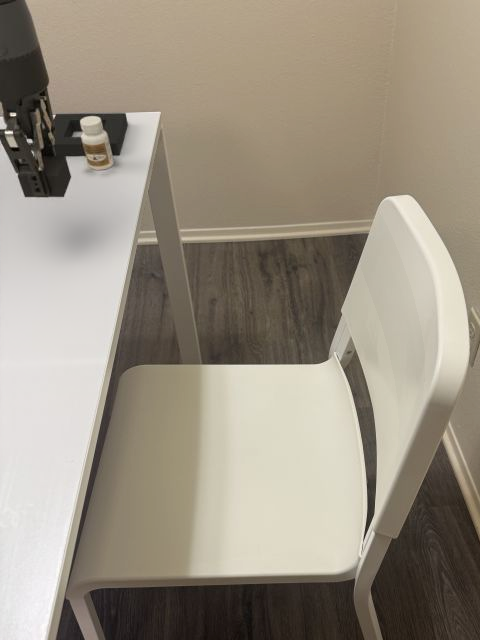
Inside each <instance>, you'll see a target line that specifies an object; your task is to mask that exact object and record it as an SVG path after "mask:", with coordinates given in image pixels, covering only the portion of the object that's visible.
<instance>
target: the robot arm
mask: <svg viewBox="0 0 480 640" xmlns="http://www.w3.org/2000/svg"><path fill="white" fill-rule="evenodd" d="M48 73H49V72H48V71H47V66H46V63H45V59H44V55H43V51H42V48H41V44H40V41H39V37H38V34H37V30H36V26H35V23H34V19H33V16H32V13H31V11H30V8H29V7H28V4H27V1H26V0H0V104H1V107H2V110H1V113H2V118H3V123H4V125H5V126H6V127H5V128H0V143H1V145H2V147H3V149H4V151H5V153H6V155H7V157H8V160H9V161H10V164H11V166H12V168H13V170H14V171H15V174H17V175H18V174H21V173H26V176H27V179H28V182H29V185H30V188H31V190H32V193H33V195H34V196H35V197H34V198H51V197H50V195H51V189H50V186H49V182H48V179H47V176H46V172H45V169H44V168H43V167H44V165H43V162H42V156H56V153H55V150H54V146H52V145H54V142H55V140H54V137H53V135H52V134H55V133H56V127H55V123H54V114H53V110H52V109H53V108H52V104H51V101H50V96H49V95H50V94H49V91H48V90H49V89H48V86H49V84H50V77H49V74H48ZM28 140H31V142H28ZM34 157H35V158H34Z"/></svg>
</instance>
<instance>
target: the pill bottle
mask: <svg viewBox="0 0 480 640" xmlns="http://www.w3.org/2000/svg"><path fill="white" fill-rule="evenodd" d="M80 125H81V129H82V131H81V132H82V133H81V136H80V137H81V139H82V143H83V147H84V150H85V154H86V156H85V158H86V161H87V165H88V167H89V168H90V169H92V170H94V171H95V170H97V171H102V170H107V169H110V168H112V166H113V165H114V162H115V161H114V157H113V156H114V155H112V152H111V147H110V143H109V139H108V135H107V133H106V131H104V130H103V125H102V121H101V119H100V118H99V117H97V116H88V117H85V118H83V119H81V120H80Z"/></svg>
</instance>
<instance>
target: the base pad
mask: <svg viewBox="0 0 480 640" xmlns="http://www.w3.org/2000/svg"><path fill="white" fill-rule="evenodd" d="M88 116H97V117H99V118H100V119H101V121H102V125H103V130H104V131H106V133H107V135H108V139H109V143H110V147H111V152H112V156H120V154H121V151H122V148H123V143H124V140H125V137H126V133H127V129H128V125H129V121H128V119H127V113H126V112H101V113H100V112H99V113H95V112H93V113H92V112H90V113H89V112H88V113H86V112H85V113H55V116H53V118H54V123H55V127H56V133H55V134H52V135H53V137H54V140H55V142H54V145H52V146H54V150H55V153H56V156H66V157H86V154H85V150H84V147H83V143H82V139H81V136H73V134H74V132H83V131H82V129H81V125H80V120H81V119H83V118H85V117H88Z"/></svg>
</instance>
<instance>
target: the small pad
mask: <svg viewBox="0 0 480 640" xmlns="http://www.w3.org/2000/svg"><path fill="white" fill-rule="evenodd" d="M34 158H35V157H34ZM42 162H43V165H44V167H43V168H44V169H45V172H46V176H47V179H48V182H49V186H50V189H51V195H50V197H49V198H64V197H65V195H66V193H67V190H68V187H69V185H70V181H71V179H72V174H71V172H70V168H69V164H68V160H67V156H42ZM17 179H18V181H19V185H20V187H21V190H22V194H23V196H24V198H36V197H35V196H34V195H33V193H32V190H31V188H30V185H29V182H28V179H27V176H26V173H21V174H17Z"/></svg>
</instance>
